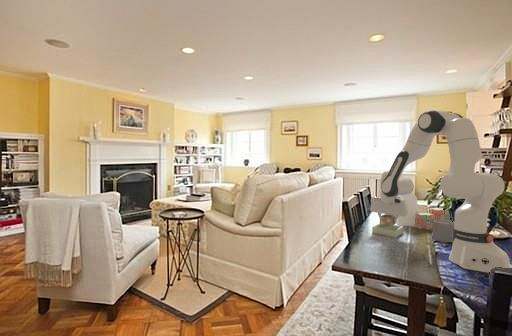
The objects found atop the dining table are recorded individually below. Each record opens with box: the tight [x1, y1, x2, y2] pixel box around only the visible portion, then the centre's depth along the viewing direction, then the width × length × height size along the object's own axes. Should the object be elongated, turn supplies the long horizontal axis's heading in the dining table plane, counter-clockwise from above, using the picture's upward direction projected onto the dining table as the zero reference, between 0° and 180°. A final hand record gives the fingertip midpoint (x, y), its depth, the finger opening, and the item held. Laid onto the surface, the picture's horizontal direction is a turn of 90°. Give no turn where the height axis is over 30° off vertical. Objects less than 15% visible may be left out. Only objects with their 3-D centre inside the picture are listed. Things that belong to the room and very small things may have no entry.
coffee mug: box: [432, 220, 455, 243], centre depth 153 cm, size 13×10×10 cm
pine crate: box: [379, 214, 397, 227], centre depth 166 cm, size 6×9×5 cm, turn 136°
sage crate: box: [371, 222, 404, 239], centre depth 166 cm, size 13×13×4 cm
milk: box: [396, 191, 419, 227], centre depth 188 cm, size 12×12×26 cm
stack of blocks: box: [414, 207, 451, 230], centre depth 178 cm, size 21×6×12 cm, turn 95°
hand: (387, 221), depth 166 cm, fingers closed on pine crate, 6 cm apart
